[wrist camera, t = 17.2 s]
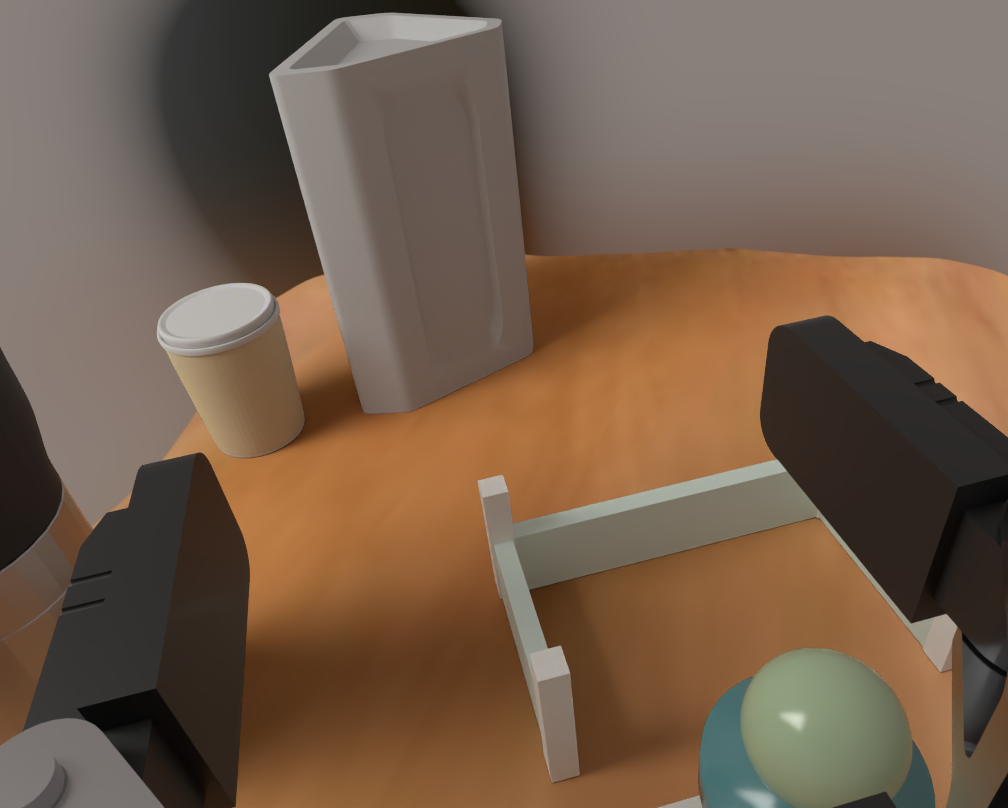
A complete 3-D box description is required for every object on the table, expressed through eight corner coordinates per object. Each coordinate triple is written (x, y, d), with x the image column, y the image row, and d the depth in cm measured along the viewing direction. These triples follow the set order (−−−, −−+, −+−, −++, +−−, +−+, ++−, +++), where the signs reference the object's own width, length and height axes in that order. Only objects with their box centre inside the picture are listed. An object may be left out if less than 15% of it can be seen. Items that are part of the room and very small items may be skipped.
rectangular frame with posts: (965, 665, 41) (1013, 554, 36) (551, 783, 39) (537, 681, 33) (825, 498, 52) (846, 393, 47) (495, 581, 50) (477, 480, 44)
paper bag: (529, 406, 64) (490, 54, 48) (360, 414, 66) (265, 76, 49) (536, 296, 79) (508, -1, 63) (399, 304, 81) (336, 18, 64)
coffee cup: (300, 385, 71) (261, 269, 64) (327, 438, 64) (288, 315, 57) (199, 420, 68) (147, 304, 61) (216, 480, 61) (160, 356, 54)
